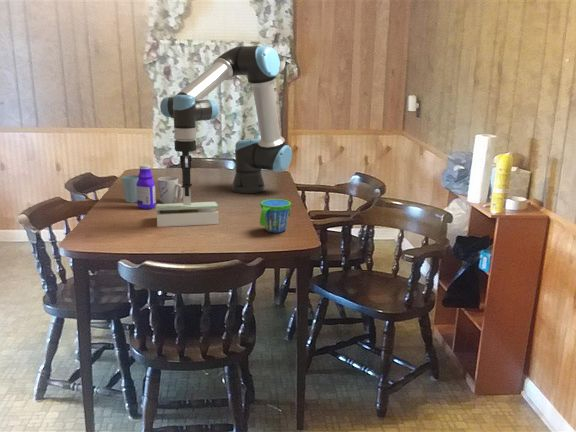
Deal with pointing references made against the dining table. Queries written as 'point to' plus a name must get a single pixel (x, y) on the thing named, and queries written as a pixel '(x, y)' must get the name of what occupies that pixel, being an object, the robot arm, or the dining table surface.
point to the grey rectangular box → (187, 217)
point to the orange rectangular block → (187, 211)
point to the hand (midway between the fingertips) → (187, 204)
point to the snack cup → (275, 214)
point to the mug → (169, 189)
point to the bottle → (145, 188)
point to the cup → (130, 187)
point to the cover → (186, 206)
